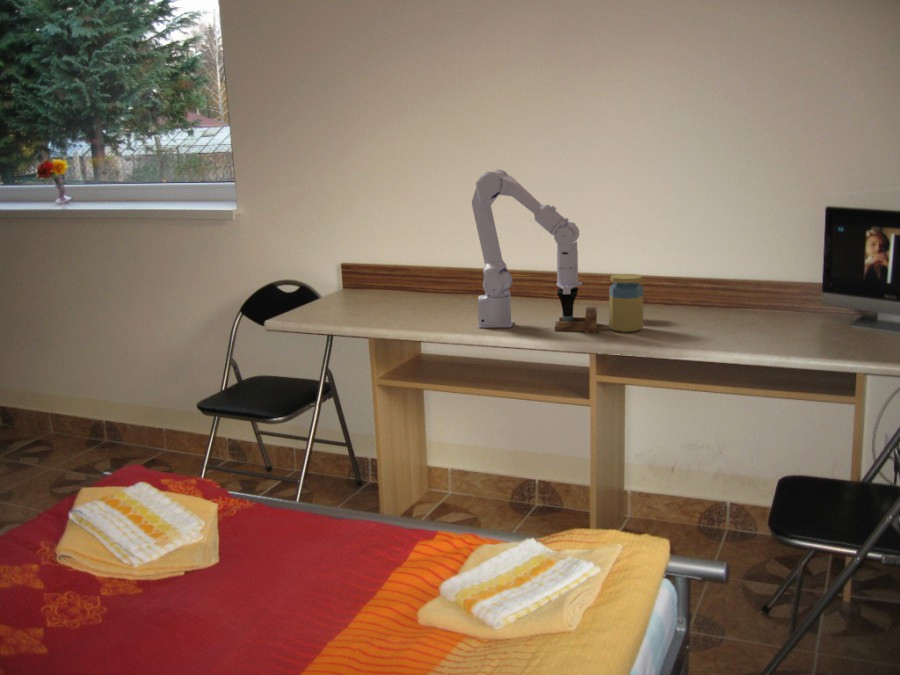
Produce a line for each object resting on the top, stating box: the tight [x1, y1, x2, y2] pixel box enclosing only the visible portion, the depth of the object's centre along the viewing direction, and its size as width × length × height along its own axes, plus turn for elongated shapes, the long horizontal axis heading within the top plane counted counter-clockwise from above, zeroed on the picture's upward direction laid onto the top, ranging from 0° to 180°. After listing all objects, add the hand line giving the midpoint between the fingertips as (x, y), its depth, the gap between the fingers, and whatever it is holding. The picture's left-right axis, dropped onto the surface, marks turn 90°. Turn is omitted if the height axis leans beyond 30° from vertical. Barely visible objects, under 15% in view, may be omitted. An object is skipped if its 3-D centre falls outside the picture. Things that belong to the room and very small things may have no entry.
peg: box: [562, 310, 574, 322], centre depth 262 cm, size 3×3×8 cm
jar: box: [608, 273, 644, 334], centre depth 257 cm, size 9×9×15 cm
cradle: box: [554, 306, 598, 334], centre depth 262 cm, size 12×12×5 cm
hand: (567, 314), depth 262 cm, fingers closed on peg, 3 cm apart
